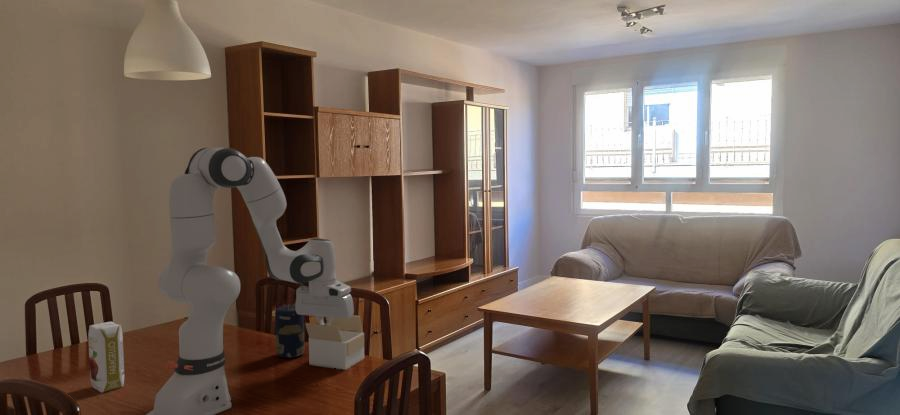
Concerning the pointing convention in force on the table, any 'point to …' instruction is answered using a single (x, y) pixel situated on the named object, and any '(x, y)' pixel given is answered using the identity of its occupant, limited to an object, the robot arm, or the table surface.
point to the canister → (289, 332)
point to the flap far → (348, 323)
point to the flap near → (324, 332)
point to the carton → (337, 351)
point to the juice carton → (106, 356)
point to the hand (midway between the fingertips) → (325, 329)
